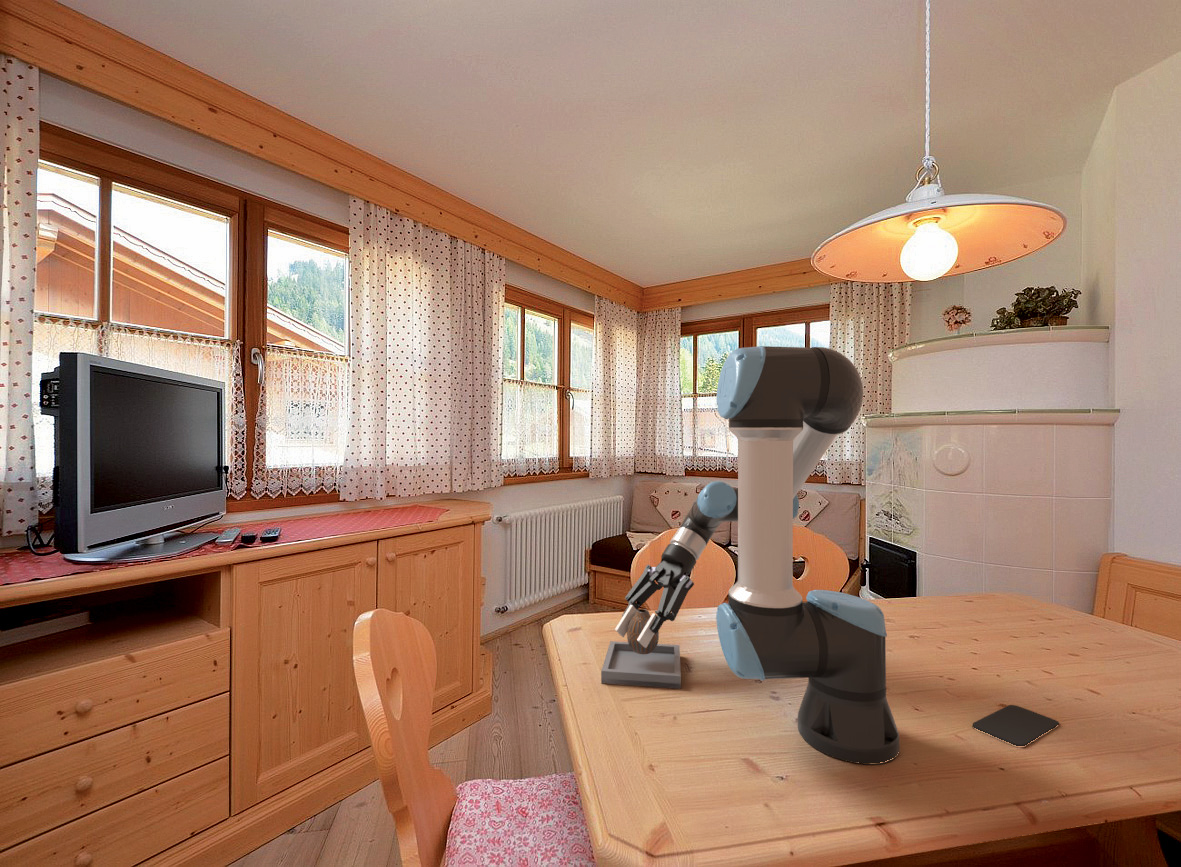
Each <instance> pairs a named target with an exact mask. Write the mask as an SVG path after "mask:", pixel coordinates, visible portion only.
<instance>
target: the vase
mask: <svg viewBox="0 0 1181 867" xmlns="http://www.w3.org/2000/svg"><path fill="white" fill-rule="evenodd" d="M651 616H652V615H651V614H650V612H649V610H648V609H647V608H638V610H637V612H636V614H635V616H634V617H633V618H632V619H631V621H630V623H629V625H628V629H627V633H626V638H627V642H628V643H629V646H630V647H631V649H632V650H633V651H634V652H636V653H638V654H649V653H651V652H652V651H653V650H654V649H655V648H656V646H657V644H659V637H660V636H659V635H660V632H659V631H660V630H659V631H658V632H657V633H656V634H654V636H653V637H652V639H651V641H650V642H649V644H648V646H647V647H646V648H645V647H643V646H642V645H641V644H640V643H639V642H638V641H637V639H638V637H639V635H640V634H641V632H642V630H643V629H644V627H645V625H646V624H647V622H648V621H649V619H650V617H651Z"/></svg>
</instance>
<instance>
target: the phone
mask: <svg viewBox="0 0 1181 867" xmlns="http://www.w3.org/2000/svg"><path fill="white" fill-rule="evenodd" d="M1057 725H1059V726H1060V722H1059V721H1058V720H1056V719H1054V718H1051V717H1049V716H1046V715H1044V714H1043V715H1042V714H1040V713H1038V712H1035V711H1032V710H1029V709H1027V708H1024V707H1021V706H1019V705H1015V704H1009V705H1006V706H1005V707H1002V708H1000V709H998V710H996V711H994V712H992V713H990V714H989V715H985V716H984V717H982V718H981V719H978V720H976V721H975V722H973V723H972V728H973V727H974V728H976V729H978V730H980V731H983V732H985V733H988V734H990V735H992V736H994V737H997V738H999V739H1001V740H1004V741H1006V742H1009V743H1011V744H1013V745H1016V746H1025V745H1027V744H1028V743H1030V742H1031V741H1033V740H1035V739H1036V738H1038V737H1039V736H1041V735H1042V734H1044V733H1046V732H1048V731H1049V730H1051V729H1053V728H1055V727H1056V726H1057ZM974 728H973V729H974ZM1055 729H1056V728H1055Z"/></svg>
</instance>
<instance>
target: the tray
mask: <svg viewBox="0 0 1181 867" xmlns="http://www.w3.org/2000/svg"><path fill="white" fill-rule="evenodd" d="M680 647H681V646H680V644H670V643H669V644H668V643H667V644H666V643H665V644H664V643H658V644H657V646H656V648H655V649H654V650H653V651H652V652H651V653H649V654H638V653H636V652H634V651H633V650H632V649H631V647H630V646H629V643H628V641H616V640H614V641H612V640H610V642H609V645H608V648H607V650H606V651H607V652H606V654H605V657H604V661H603V664H602V667H601V672H600V675H601V680H600V681H601V682H600V683H601V684H604V683H607V684H608V685H617V686H618V685H621V686H632V687H633V686H635V687H636V686H637V687H650V688H663V689H664V688H666V689H667V688H668V689H675V690H676V689H678V690H679V689H680V690H681V688H682V686H681V684H682V682H681V681H682V679H681V678H682V675H681V674H682V672H681V653H680V652H681V651H680V650H681V649H680ZM607 684H606V685H607Z"/></svg>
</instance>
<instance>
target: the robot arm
mask: <svg viewBox="0 0 1181 867" xmlns="http://www.w3.org/2000/svg"><path fill="white" fill-rule="evenodd" d="M863 400H864V386H863V381H862V377H861V375H860V373H859V371H858V369H857V367H856V366H855V365H854V363H853V362H852V361H851V360H850V359H849V358H848V357H846V356H845V355H844V354H842V353H841V352H839V351H838V350H837V351H836V350H835V349H832V348H828V347H821V346H813V347H812V346H811V347H803V346H802V347H801V346H800V347H799V346H795V347H794V346H772V345H771V346H767V345H766V346H765V345H764V346H763V345H759V346H758V345H757V346H750V347H749V346H748V347H739V348H736V349H734V350H733V351H732V352H730V353H729V354H728V356H727V357H726V358H725V361H724V363H723V365H722V367H721V371H720V373H719V377H718V382H717V388H716V405H717V413H718V414H719V416H720V417H721V418H723V419H724V420H728V431H729V432H731V434H732V435H734V437H736V439H737V467H738V468H737V475H738V476H737V478H738V479H737V487H732V486H731V485H730V484H728V483H726V482H724V481H721V480H717V481H711V482H709V483H708V484H706V486H704V487H703V488H702V489H701V490H700V492H699V494H698V496H697V499H696V500H695V501H694V502H693V504H692V506H691V508H690V509H689V510H688V512H687V514H686V515H685V517H684V519H683V521H682V523H681V524H680V526H679V527H678V528H677V530H676V532H675V533H674V535H672V537H671V539H670V541H669V544H667V546H666V547H665V549H664V550H663V552H662V554H661V555H660V556H661V557H660V558H661V560H660V562H659V563H658V564H657V565H656V566H651V565H650V564H647V565H646V566H645V568H644V569H643V573H642V574H641V575H640V577H639V578H638V579H637V580H636V582H635V583H634V585H633V586H632V587H631V589H629V591H628V593H627V594H626V595H625V597H624V600H626V601H627V603H628V605H627V607H626V608H625V610H624V612H623V613H622V614H621V618H620V621H619V622H618V623H617V625H616V627H615V628H614V630H615V632H617V633H618V634H619V636H621V637H622V638H624V637H625V636H626V635H627V629H628V625H629V623H630V621H631V619H632V618H633V617H634V616H635V614H636V612H637V610H638V609H640V608H641V607H642V606H643V604H645V603H646V601H648V600H649V599H650V598H651V597H652V596H654V594H655V593H656V592H657V591H660V590H661V589H662V588H663V590H662V593H661V596H660V600H659V604H658V608H657V610H655V611H654V612H653V613H651V615H650V616H651V617H650V619H649V621H648V622H647V624H646V625H645V627H644V629H643V630H642V632H641V634H640V635H639V637H638V639H637V641H638V642H639V643H640V644H641V645H642V646H643V647H645V648H646V647H647V646H648V644H649V642H650V641H651V639H652V637H653V636H654V634H656V633H657V632H658V631H660V629H661V628H662V626H663V624H664V622H667V621H670V622H674V621H675V620H676V618H677V615H678V614H679V611H680V609H681V608H682V605H683V604H684V601H685V599H686V597H687V595H688V593H689V591H690V590H691V589H692V588H693V587H694V586H695V582H694V581H693V580H692V579H691V578H690V577H689V576H688V575H690V574H691V573H692V571H693V569H694V567H695V565H696V564H697V560H699V559H700V557H701V555H702V553H703V552H704V551H705V548H706V546H708V543H709V541H710V540H711V538H712V537H713V536H714V533H715V532H716V530H717V529H718V527H719V526H721V524H722V523H723V522H727V523H729V522H737V580H736V582H735V583H734V584H733V585H732V586H731V587H730V588H729V589H728V602H723V603H720V604H719V605H718V606H717V608H716V609H717V610H716V613H715V614H716V615H715V619H716V621H715V622H716V629H717V635H718V640H719V643H720V644H719V645H720V647H721V650H722V654H723V657H724V659H725V661H726V663H727V666H728V667H729V669H730V671H731V672H732V673H733V674H734V675H735V676H736V677H738V678H739V679H744V680H745V679H746V680H759V681H765V680H779V679H780V680H782V679H804V678H805V679H807V678H808V679H807V680H808V681H807V687H806V689H805V692H804V695H803V697H802V700H801V703H800V706H799V709H798V712H797V730H798V733H799V736H801V738H802V739H803V740H804V741H805V742H806V743H807V744H808V745H810V746H812V747H813V748H814V749H816V750H818V751H820V752H821V753H823V754H825V755H827V756H829V757H832V756H833V757H832V758H835V759H838V758H839V759H838V760H841V759H842V760H841V761H845V760H847V761H846V762H849V761H852V762H851V763H853V762H859V763H858V764H860V763H880V762H885V761H887V760H890V759H892V758H894V757H895V756H896V755H897V754H898V752H899V753H900V751H899V749H901V748H900V733H899V730H898V727H897V723H896V721H895V719H894V716H893V713H892V710H891V708H890V704H889V702H888V698H887V665H886V664H887V662H886V661H887V660H886V659H887V658H886V657H887V656H886V654H887V653H886V652H887V651H886V650H887V649H886V637H887V636H888V634H887V629H886V622H885V615H884V611H883V610H882V609H881V608H880V606H878V605H877V604H875V603H874V602H871V600H867V599H865V598H863V597H860V596H856V595H852V594H849V593H844V592H839V591H834V590H827V589H826V590H825V589H812V590H809V591H808V593H807V594H806V597H805V598H806V599H805V600H806V601H803V595H802V594H801V593H800V592H799V591H798V590H797V589H796V588H795V587H794V585H793V584H794V583H793V580H794V579H793V577H794V576H793V573H794V572H793V571H794V570H793V569H794V568H793V567H794V565H793V562H794V561H793V559H794V558H793V556H794V554H793V552H794V551H793V550H794V546H793V543H794V534H793V533H794V530H793V529H794V527H793V526H794V521H793V520H794V519H795V518H796V517H797V516H798V514H799V508H800V501H799V496H798V493H799V491H800V490H801V488H803V485H804V484H805V482H806V481H807V480H808V478H809V477H810V475H811V474H812V473H813V471H814V470H815V468H816V466H817V465H818V464H819V462H820V461H821V459H822V457H823V456H824V455H825V453H826V452H827V451H828V450H829V447H831V444H832V443H833V441H834V440H835V438H836V437H837V436H838V435H841V434H844V433H845V432H847V431H848V430H849V429H850V428H851V426H852V425H853V424H854V422H855V420H856V419H857V417H858V416H859V414H860V411H861V407H862V404H863ZM898 755H899V754H898Z"/></svg>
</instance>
